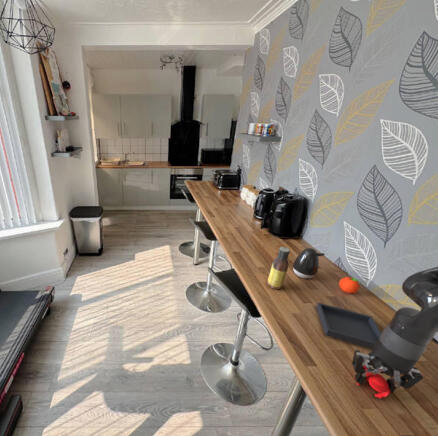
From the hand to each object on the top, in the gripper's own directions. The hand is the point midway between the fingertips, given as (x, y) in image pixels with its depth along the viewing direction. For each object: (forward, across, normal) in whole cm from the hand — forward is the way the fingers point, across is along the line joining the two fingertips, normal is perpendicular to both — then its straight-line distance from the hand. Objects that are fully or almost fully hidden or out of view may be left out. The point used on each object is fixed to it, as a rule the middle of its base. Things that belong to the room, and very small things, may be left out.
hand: (372, 386), depth 67 cm
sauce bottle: (+2, -22, +39) cm, 45 cm away
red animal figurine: (+2, 0, 0) cm, 2 cm away
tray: (+2, +2, +24) cm, 24 cm away
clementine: (+2, +9, +49) cm, 50 cm away
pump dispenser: (+2, -8, +54) cm, 55 cm away
